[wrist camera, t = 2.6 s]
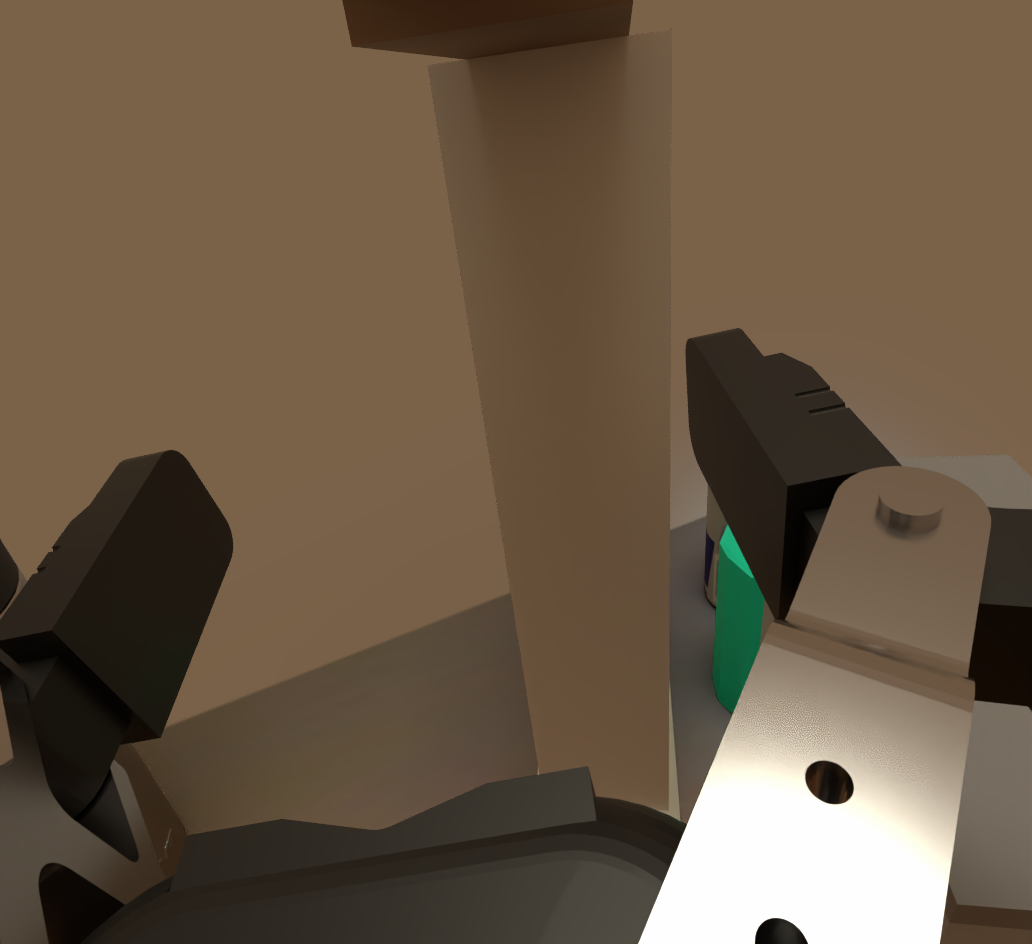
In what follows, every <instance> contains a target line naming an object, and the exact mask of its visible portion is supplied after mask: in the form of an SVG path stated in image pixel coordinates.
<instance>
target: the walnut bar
mask: <svg viewBox="0 0 1032 944" xmlns="http://www.w3.org/2000/svg"><path fill="white" fill-rule="evenodd" d="M343 5H344V10H345V15H346V20H347V24H348V30H349V34H350V39H351V44H352V46H353V47H361V48H371V49H379V50H387V51H396V52H405V53H415V54H422V55H431V56H440V57H449V58H457V59H472V58H479V57H486V56H493V55H500V54H506V53H513V52H520V51H527V50H533V49H540V48H547V47H554V46H561V45H567V44H574V43H581V42H588V41H595V40H601V39H608V38H615V37H622V36H629V29H630V21H631V13H632V5H633V0H343Z"/></svg>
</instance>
